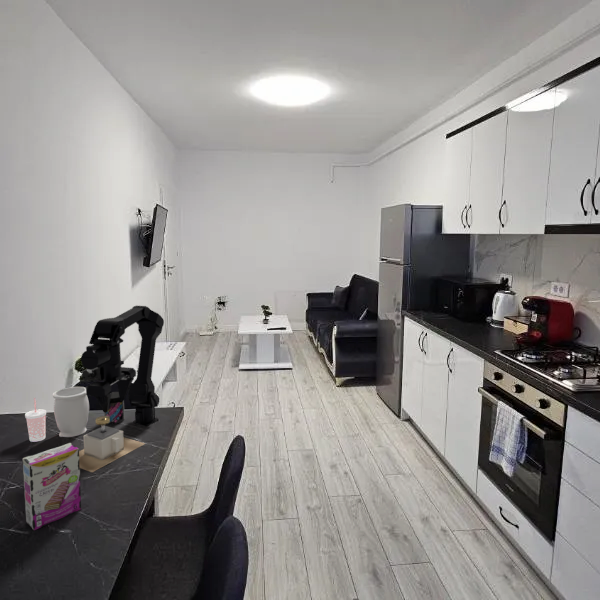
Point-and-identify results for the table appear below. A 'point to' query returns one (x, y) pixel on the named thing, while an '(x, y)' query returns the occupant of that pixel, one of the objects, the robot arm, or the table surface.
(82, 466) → the serving board
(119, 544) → the table surface
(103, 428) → the gold push button
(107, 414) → the supplement container
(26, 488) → the candy bar box
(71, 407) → the jar
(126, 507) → the table surface
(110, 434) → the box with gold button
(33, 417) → the beverage cup
